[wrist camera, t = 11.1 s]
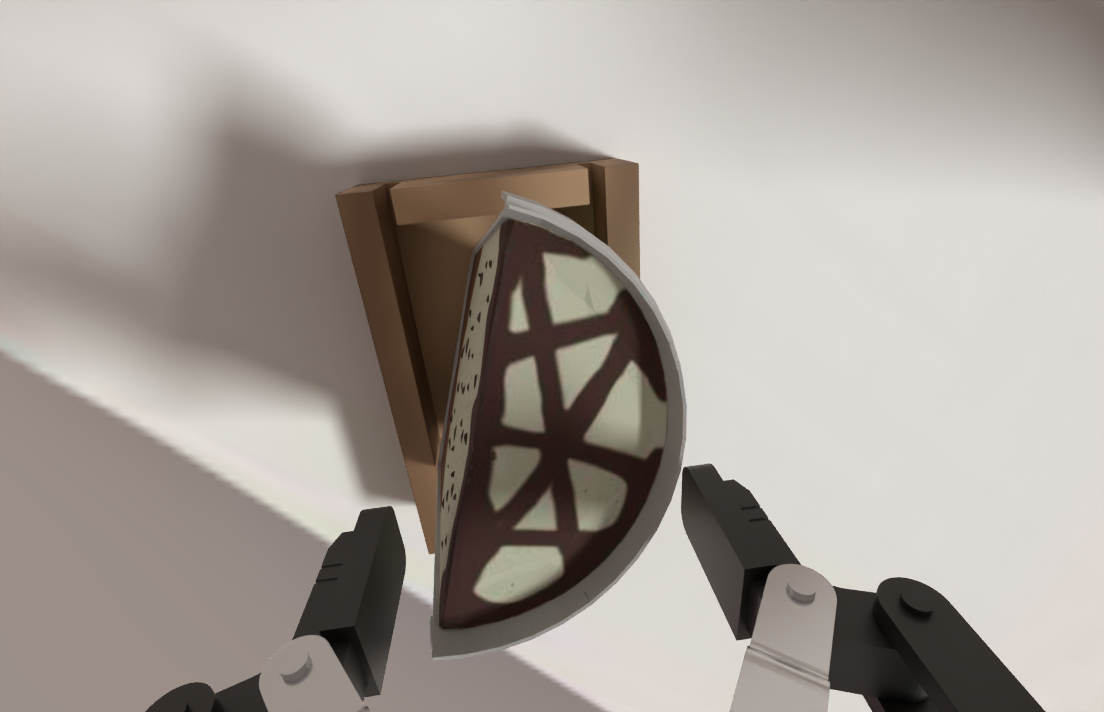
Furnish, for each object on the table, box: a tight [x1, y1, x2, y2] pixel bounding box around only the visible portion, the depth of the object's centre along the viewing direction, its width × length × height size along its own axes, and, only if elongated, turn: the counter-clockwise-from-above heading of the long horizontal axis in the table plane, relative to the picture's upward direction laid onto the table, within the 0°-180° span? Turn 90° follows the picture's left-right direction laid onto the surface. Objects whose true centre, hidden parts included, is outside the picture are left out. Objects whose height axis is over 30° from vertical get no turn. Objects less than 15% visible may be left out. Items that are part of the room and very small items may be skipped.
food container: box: [430, 191, 686, 660], centre depth 17 cm, size 12×6×10 cm, turn 167°
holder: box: [335, 158, 640, 554], centre depth 22 cm, size 10×16×3 cm, turn 5°
